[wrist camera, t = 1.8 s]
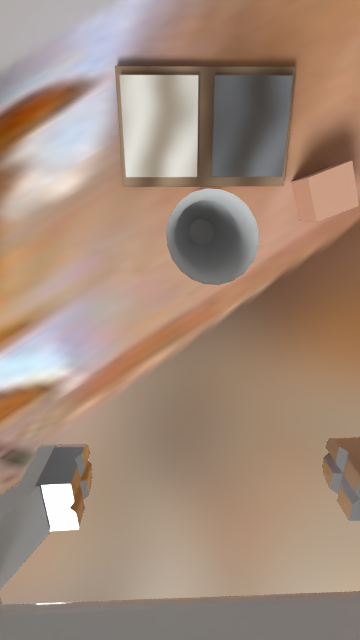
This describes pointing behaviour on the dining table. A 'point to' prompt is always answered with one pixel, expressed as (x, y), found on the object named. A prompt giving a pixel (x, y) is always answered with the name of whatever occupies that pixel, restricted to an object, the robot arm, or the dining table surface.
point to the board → (204, 125)
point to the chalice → (212, 236)
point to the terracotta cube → (326, 192)
